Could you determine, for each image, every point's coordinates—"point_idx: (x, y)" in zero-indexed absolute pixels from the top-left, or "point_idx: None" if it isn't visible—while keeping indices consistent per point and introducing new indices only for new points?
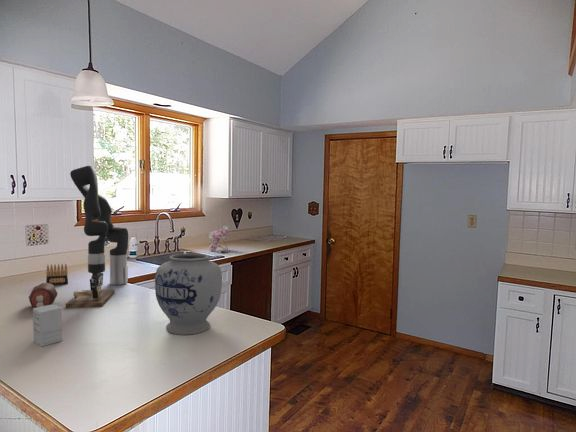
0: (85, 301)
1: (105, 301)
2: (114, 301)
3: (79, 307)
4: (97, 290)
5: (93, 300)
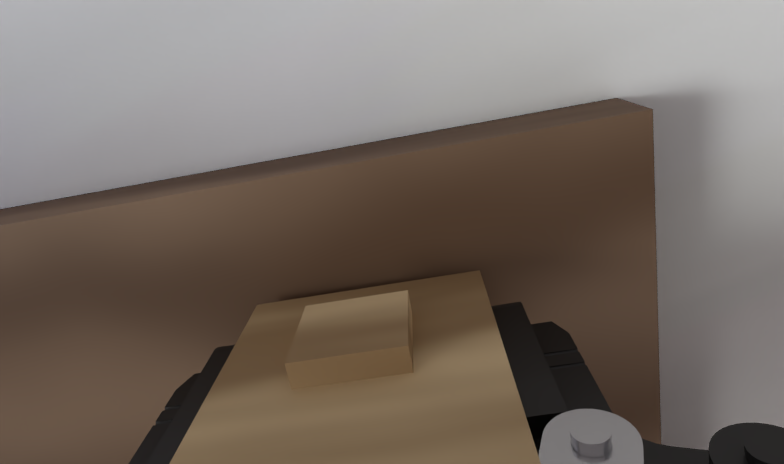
0: None
1: (369, 149)
2: (227, 10)
3: None
4: (583, 411)
5: None
